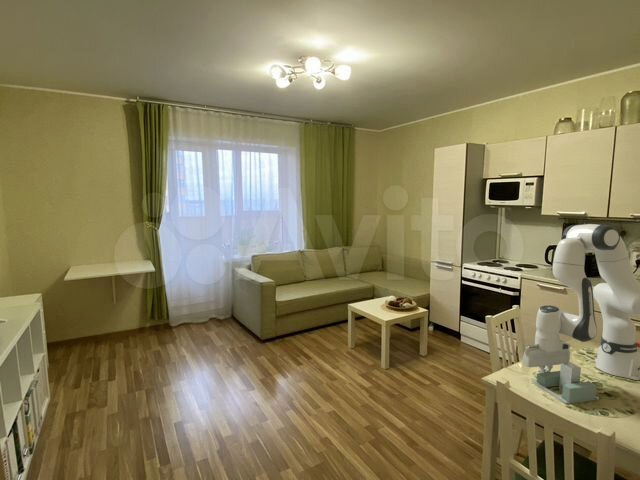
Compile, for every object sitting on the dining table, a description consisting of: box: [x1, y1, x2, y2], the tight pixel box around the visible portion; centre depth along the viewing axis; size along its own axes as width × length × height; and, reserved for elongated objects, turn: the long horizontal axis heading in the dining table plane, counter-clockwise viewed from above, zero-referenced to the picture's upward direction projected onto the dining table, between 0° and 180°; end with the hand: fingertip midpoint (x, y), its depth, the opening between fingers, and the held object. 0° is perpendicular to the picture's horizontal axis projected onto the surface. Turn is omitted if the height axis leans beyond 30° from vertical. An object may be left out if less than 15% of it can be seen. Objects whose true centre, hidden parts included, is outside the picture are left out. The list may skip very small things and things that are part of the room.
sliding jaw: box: [536, 370, 560, 388], centre depth 144 cm, size 12×4×4 cm, turn 100°
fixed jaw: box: [532, 380, 600, 405], centre depth 139 cm, size 15×16×6 cm
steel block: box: [558, 361, 582, 394], centre depth 136 cm, size 4×5×12 cm
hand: (545, 374), depth 148 cm, fingers closed
